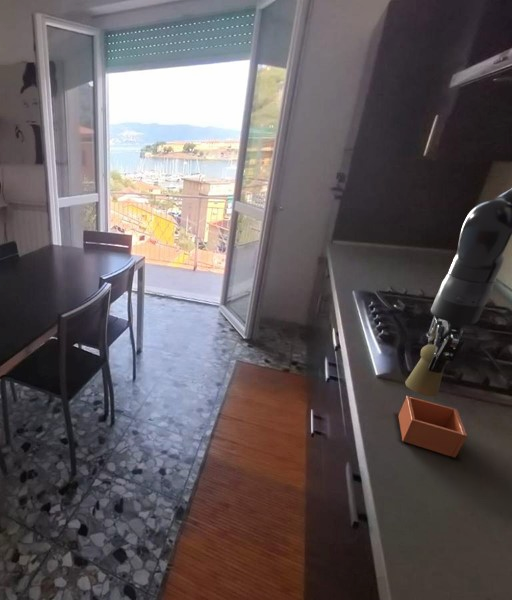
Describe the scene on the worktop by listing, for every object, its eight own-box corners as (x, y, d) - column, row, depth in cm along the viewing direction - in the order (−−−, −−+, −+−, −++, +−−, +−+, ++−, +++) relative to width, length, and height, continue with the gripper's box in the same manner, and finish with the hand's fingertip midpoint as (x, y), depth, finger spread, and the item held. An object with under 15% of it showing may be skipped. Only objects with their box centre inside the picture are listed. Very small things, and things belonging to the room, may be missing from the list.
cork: (398, 380, 86) (414, 341, 81) (421, 378, 86) (438, 339, 82) (421, 397, 80) (439, 356, 76) (445, 394, 81) (464, 354, 76)
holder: (398, 416, 82) (406, 395, 80) (446, 429, 78) (457, 409, 76) (402, 441, 76) (412, 420, 73) (455, 457, 72) (467, 436, 69)
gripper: (497, 315, 66) (461, 387, 73) (476, 288, 77) (446, 353, 84) (445, 306, 70) (415, 376, 77) (431, 281, 81) (406, 345, 88)
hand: (431, 364), depth 81 cm, fingers closed on cork, 5 cm apart
